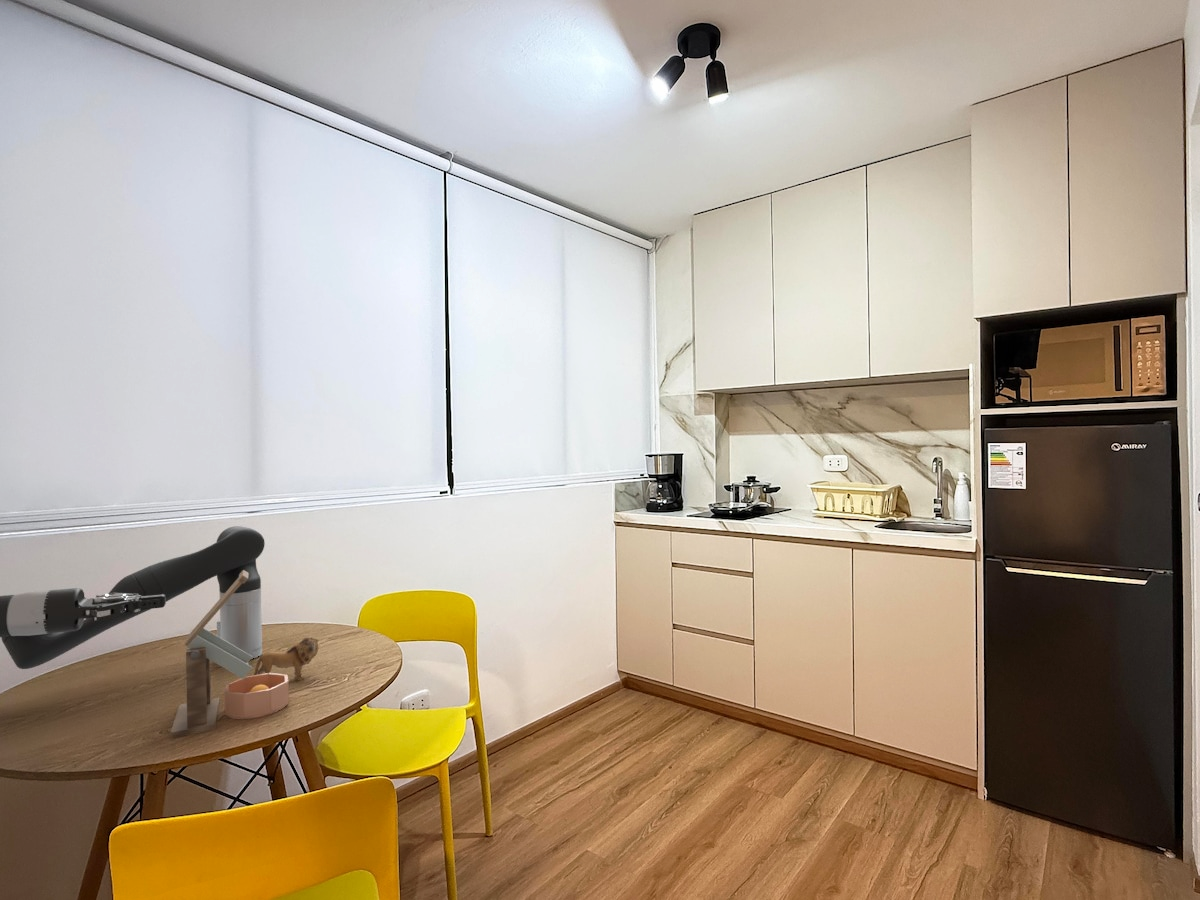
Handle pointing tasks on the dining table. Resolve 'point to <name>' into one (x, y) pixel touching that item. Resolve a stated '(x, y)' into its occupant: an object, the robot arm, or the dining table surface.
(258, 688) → the ball
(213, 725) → the stand
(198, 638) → the tipping tray
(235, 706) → the bowl
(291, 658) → the lion figurine
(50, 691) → the dining table surface
